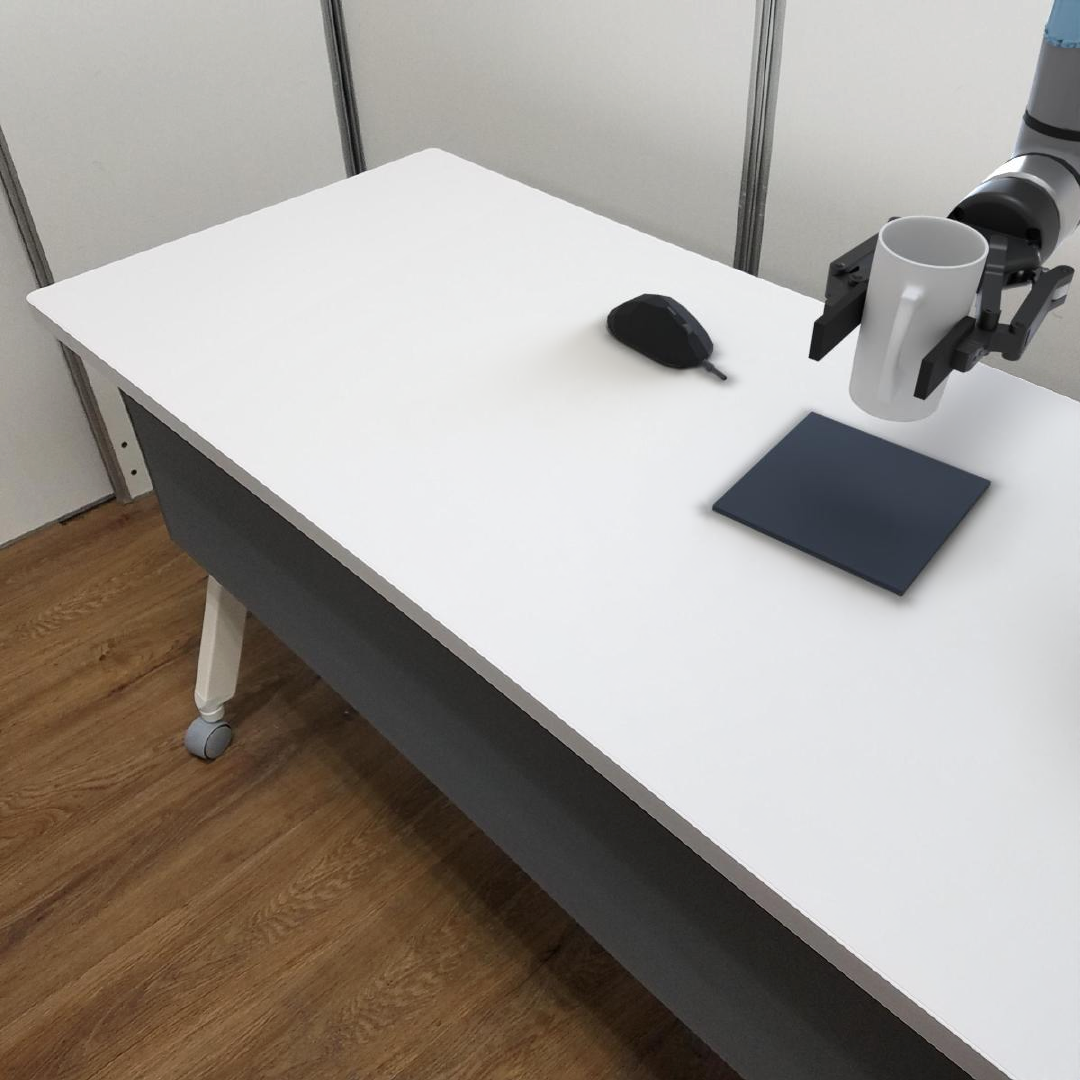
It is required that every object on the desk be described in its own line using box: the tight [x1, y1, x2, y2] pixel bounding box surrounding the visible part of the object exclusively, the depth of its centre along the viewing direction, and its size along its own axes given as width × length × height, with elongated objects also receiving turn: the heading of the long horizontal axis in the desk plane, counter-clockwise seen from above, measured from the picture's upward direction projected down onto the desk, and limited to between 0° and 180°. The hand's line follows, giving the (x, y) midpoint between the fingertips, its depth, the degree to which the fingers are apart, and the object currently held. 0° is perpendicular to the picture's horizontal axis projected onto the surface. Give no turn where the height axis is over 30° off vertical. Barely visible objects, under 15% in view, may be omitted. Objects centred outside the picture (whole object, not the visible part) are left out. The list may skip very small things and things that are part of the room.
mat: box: [711, 411, 992, 597], centre depth 90 cm, size 16×16×1 cm
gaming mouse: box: [606, 293, 728, 381], centre depth 106 cm, size 6×15×4 cm, turn 38°
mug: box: [848, 215, 989, 423], centre depth 74 cm, size 10×7×12 cm, turn 153°
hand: (868, 360), depth 71 cm, fingers closed on mug, 7 cm apart
